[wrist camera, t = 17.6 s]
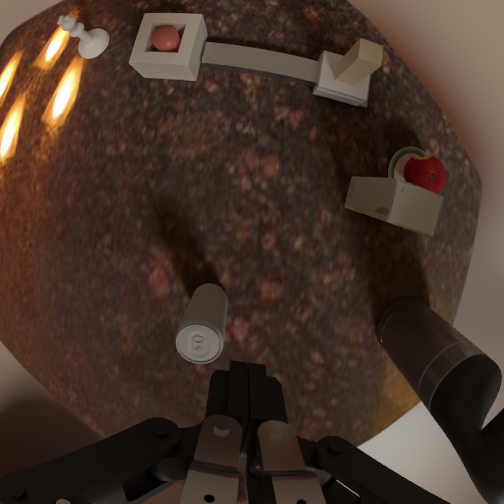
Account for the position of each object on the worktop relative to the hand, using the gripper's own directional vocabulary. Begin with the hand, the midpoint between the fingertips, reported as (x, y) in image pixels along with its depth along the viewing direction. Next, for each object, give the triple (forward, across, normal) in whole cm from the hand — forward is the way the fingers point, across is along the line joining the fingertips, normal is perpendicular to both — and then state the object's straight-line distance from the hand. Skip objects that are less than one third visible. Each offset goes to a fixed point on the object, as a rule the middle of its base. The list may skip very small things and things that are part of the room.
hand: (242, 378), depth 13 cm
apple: (+27, -21, -14) cm, 37 cm away
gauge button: (+26, +13, -23) cm, 37 cm away
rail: (+27, -1, -23) cm, 35 cm away
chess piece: (+27, +26, -25) cm, 45 cm away
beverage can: (+27, +3, +8) cm, 29 cm away
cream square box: (+27, +13, -23) cm, 38 cm away
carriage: (+27, -8, -23) cm, 36 cm away
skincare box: (+27, -15, -9) cm, 32 cm away
